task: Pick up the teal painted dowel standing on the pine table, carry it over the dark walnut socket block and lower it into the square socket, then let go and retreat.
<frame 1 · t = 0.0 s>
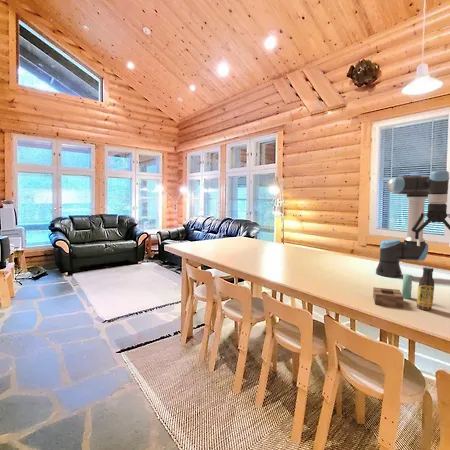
hand: (434, 246, 150), 28 cm above the table, fingers open, 13 cm apart
dowel: (406, 297, 159), on the table
socket block: (387, 301, 153), on the table
sauce bottle: (424, 308, 144), on the table
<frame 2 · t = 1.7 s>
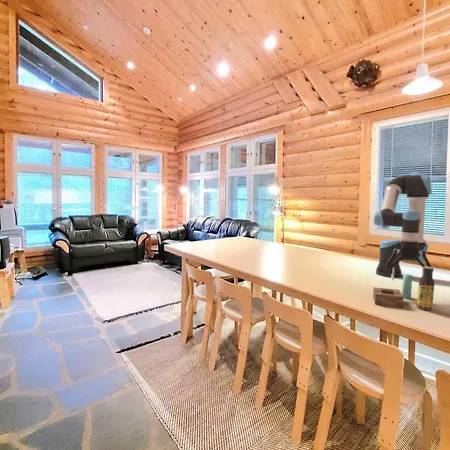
hand: (407, 281, 158), 9 cm above the table, fingers open, 13 cm apart
nothing on the table moved.
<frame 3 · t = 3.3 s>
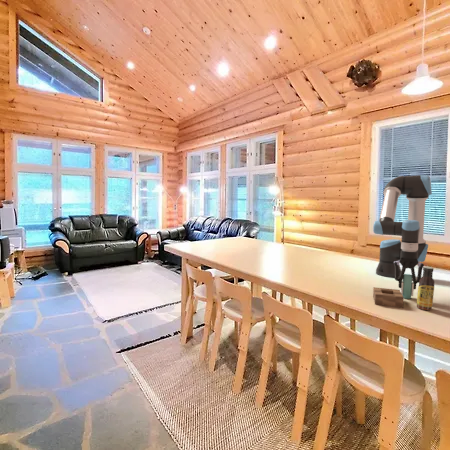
hand: (406, 294, 159), 2 cm above the table, fingers closed on dowel, 4 cm apart
dowel: (406, 297, 159), on the table, touching gripper
everything else where it was.
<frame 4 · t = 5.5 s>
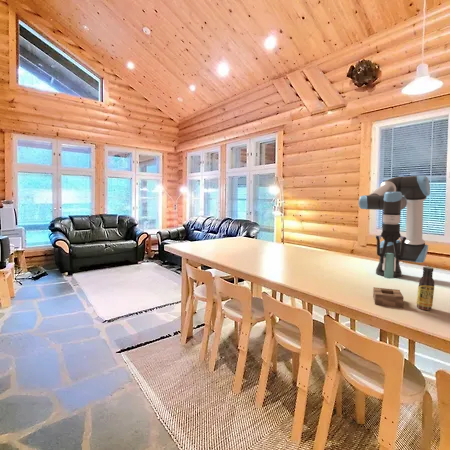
hand: (388, 270, 151), 16 cm above the table, fingers closed on dowel, 4 cm apart
dowel: (388, 277, 152), point 13 cm above the table, touching gripper
everything else where it was.
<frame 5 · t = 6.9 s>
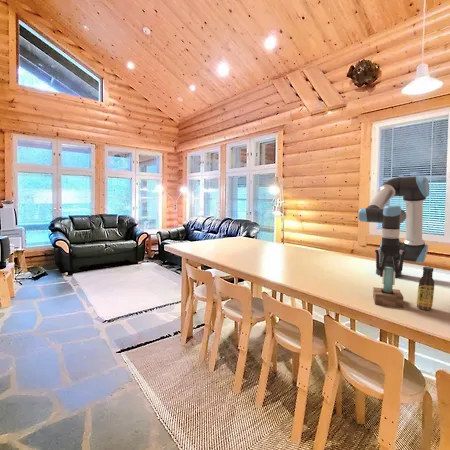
hand: (388, 283, 152), 9 cm above the table, fingers closed on dowel, 4 cm apart
dowel: (387, 291, 152), point 5 cm above the table, touching gripper
everything else where it was.
when the fingers open (6 cm above the table, at t = 8.1 s): dowel drops 2 cm, resting in socket block.
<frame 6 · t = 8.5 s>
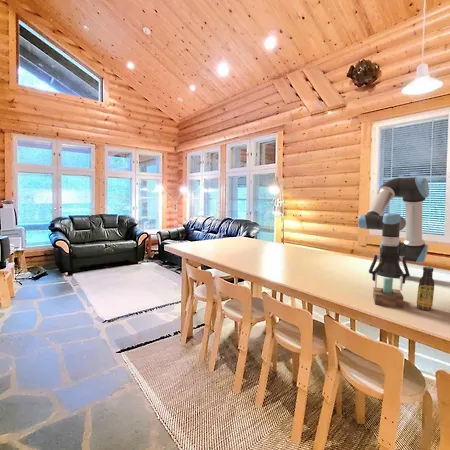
hand: (387, 288, 152), 7 cm above the table, fingers open, 10 cm apart
dowel: (387, 301, 153), resting in socket block
everything else where it was.
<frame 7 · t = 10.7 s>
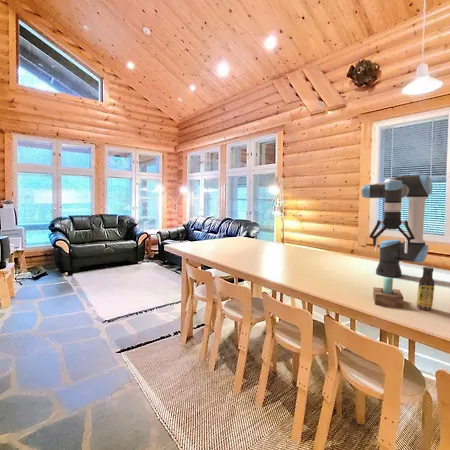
hand: (390, 252, 157), 24 cm above the table, fingers open, 13 cm apart
nothing on the table moved.
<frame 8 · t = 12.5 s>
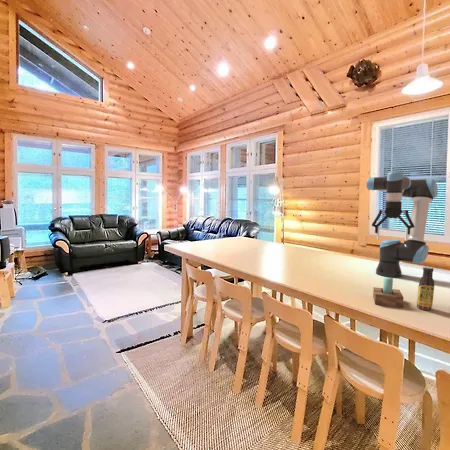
hand: (391, 240, 167), 29 cm above the table, fingers open, 13 cm apart
nothing on the table moved.
at the end: dowel 0.1 cm off-centre on the socket block, point 0.0 cm above the socket block's base; dowel tilted 0°; the gripper is holding nothing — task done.
